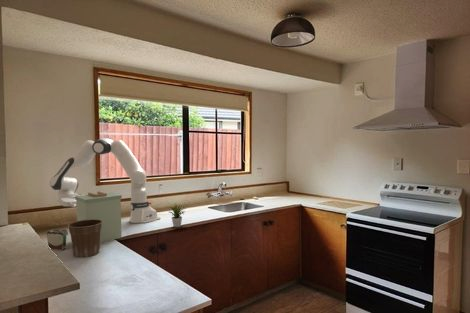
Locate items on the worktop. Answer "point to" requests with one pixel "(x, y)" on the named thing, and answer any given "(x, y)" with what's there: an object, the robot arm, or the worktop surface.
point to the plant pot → (85, 237)
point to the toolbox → (102, 212)
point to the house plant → (177, 215)
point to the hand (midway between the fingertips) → (81, 205)
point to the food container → (57, 239)
